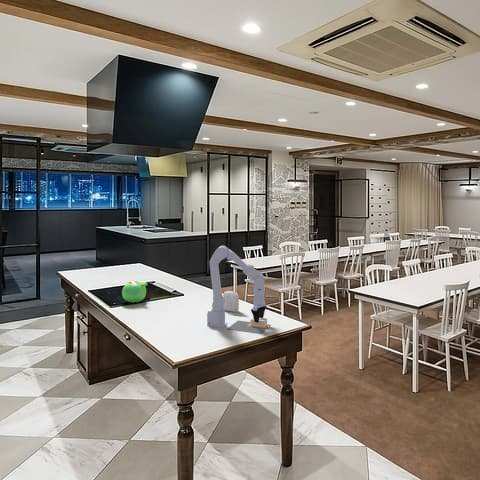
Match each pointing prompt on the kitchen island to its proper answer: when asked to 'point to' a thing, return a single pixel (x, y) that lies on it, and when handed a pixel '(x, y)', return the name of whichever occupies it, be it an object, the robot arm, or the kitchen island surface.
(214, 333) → the kitchen island surface
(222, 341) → the kitchen island surface
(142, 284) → the green apple
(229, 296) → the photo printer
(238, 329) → the mat
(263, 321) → the card deck
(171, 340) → the kitchen island surface
